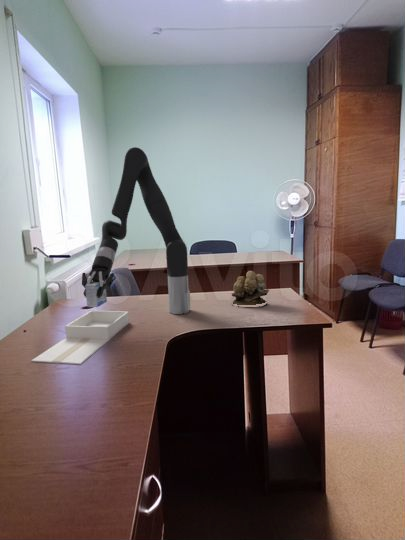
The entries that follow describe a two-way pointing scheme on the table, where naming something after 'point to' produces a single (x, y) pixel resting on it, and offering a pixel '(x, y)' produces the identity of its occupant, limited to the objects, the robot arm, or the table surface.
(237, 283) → the brown lumpy mound
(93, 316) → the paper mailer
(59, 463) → the table surface
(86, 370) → the table surface
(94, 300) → the medicine box
